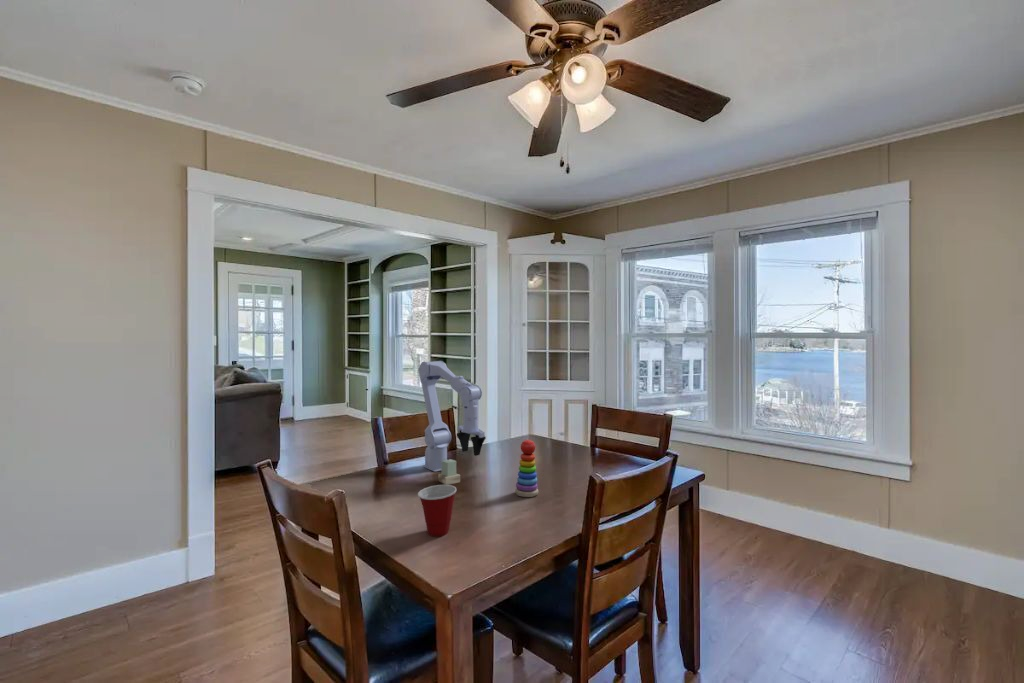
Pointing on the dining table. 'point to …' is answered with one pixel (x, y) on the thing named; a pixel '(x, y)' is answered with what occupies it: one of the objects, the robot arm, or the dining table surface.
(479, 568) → the dining table surface
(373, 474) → the dining table surface
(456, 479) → the maple base
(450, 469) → the sage block
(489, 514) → the dining table surface
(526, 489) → the stacking toy
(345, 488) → the dining table surface
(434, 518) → the plastic cup
